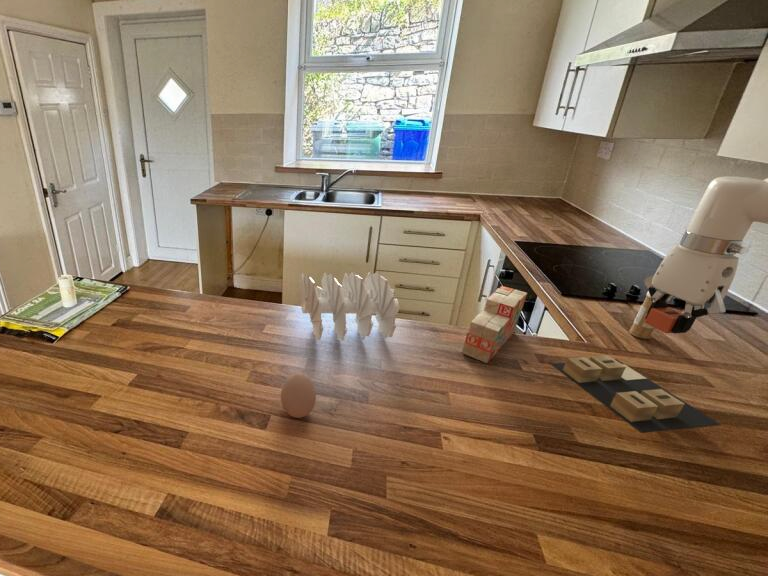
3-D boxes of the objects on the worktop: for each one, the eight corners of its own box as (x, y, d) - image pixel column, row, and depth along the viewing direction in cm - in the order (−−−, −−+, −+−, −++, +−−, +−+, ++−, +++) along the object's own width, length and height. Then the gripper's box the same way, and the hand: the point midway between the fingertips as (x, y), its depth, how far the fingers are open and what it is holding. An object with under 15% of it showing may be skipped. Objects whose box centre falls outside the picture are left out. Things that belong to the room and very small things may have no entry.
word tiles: (602, 367, 95) (608, 354, 93) (676, 417, 80) (685, 403, 78) (562, 370, 93) (567, 357, 92) (630, 421, 79) (638, 407, 77)
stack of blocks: (487, 364, 96) (502, 320, 91) (460, 353, 100) (473, 310, 95) (514, 332, 110) (528, 292, 104) (489, 323, 114) (502, 284, 108)
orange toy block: (662, 321, 87) (669, 306, 85) (684, 332, 83) (693, 317, 81) (644, 322, 86) (651, 307, 85) (666, 333, 82) (674, 318, 81)
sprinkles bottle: (647, 341, 107) (670, 296, 101) (625, 333, 110) (647, 289, 104) (652, 336, 109) (675, 291, 103) (631, 328, 112) (652, 285, 107)
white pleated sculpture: (392, 353, 107) (301, 354, 104) (376, 300, 118) (292, 299, 115) (421, 313, 93) (316, 312, 90) (399, 258, 104) (305, 255, 101)
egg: (291, 398, 84) (293, 359, 80) (319, 411, 81) (324, 372, 77) (273, 416, 79) (275, 377, 75) (303, 432, 76) (307, 391, 72)
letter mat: (615, 360, 98) (616, 358, 98) (719, 426, 79) (721, 424, 78) (549, 365, 96) (550, 363, 96) (639, 435, 76) (641, 432, 76)
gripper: (782, 259, 70) (727, 347, 77) (677, 230, 85) (640, 306, 93) (746, 260, 69) (694, 349, 76) (647, 231, 84) (612, 307, 92)
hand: (665, 325), depth 84 cm, fingers closed on orange toy block, 4 cm apart
